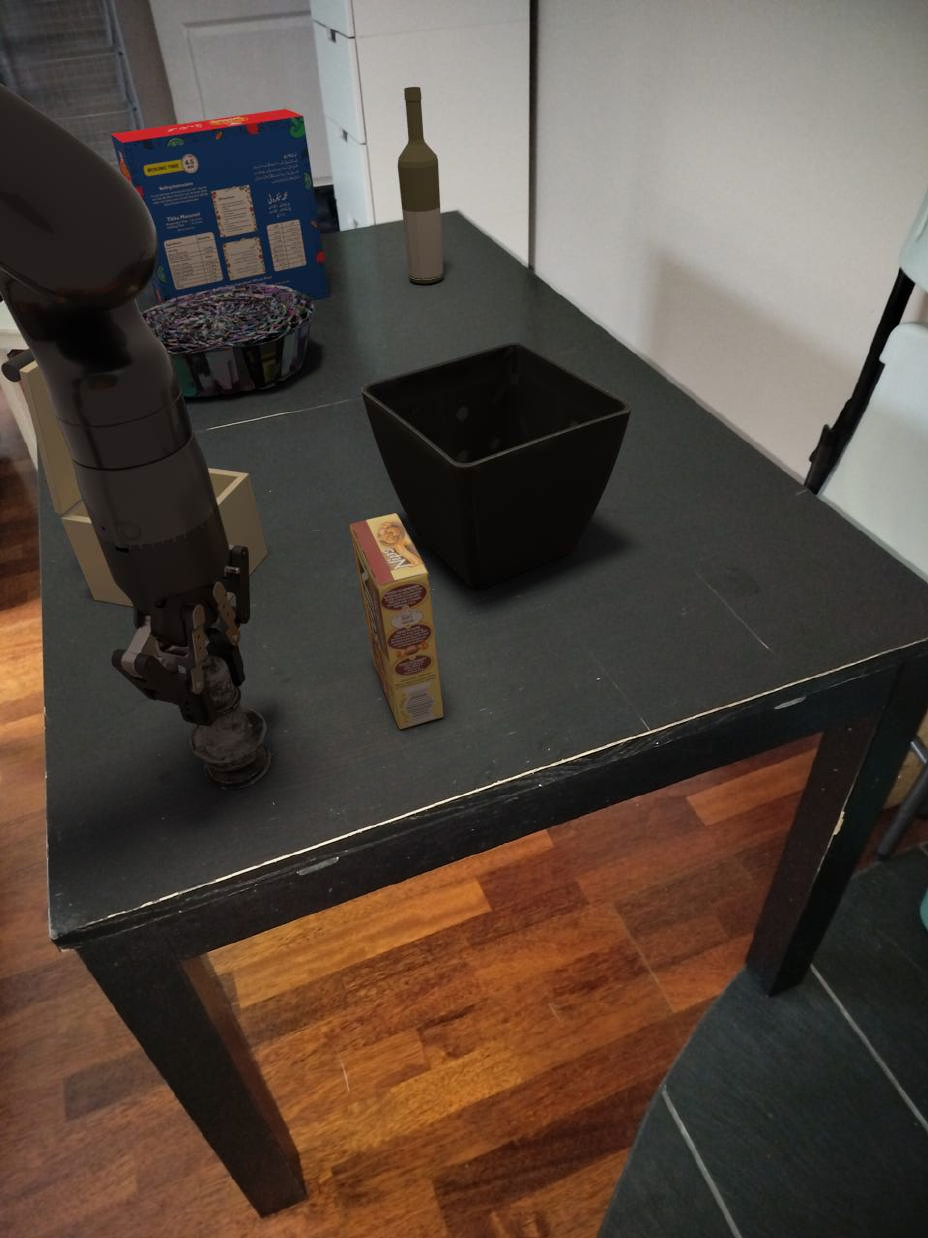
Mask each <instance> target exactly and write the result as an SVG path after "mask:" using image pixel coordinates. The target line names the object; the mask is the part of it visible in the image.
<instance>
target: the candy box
mask: <svg viewBox="0 0 928 1238" xmlns="http://www.w3.org/2000/svg"><path fill="white" fill-rule="evenodd" d="M349 529H350V534H351V535H350V536H351V541H352V542H351V543H352V547H353V553H354V559H355V563H356V565H355V566H356V569H357V574H358V582H359V586H360V592H361V598H362V604H363V609H364V616H365V621H366V626H367V631H368V636H369V642H370V647H371V654H372V659H373V665H374V667H375V670H376V673H377V675H378V678H379V681H380V684H381V686H382V689H383V693H384V694H385V697H386V699H387V702H388V705H389V707H390V711H391V712H392V715H393V718H394V719H395V722H396V725H397V727H398V729H399V730H404V729H407V728H411V727H414V726H417V725H421V724H424V723H427V722H431V721H434V720H438V719H441V718H444V707H443V706H444V705H443V698H442V697H443V696H442V689H441V679H440V670H439V669H440V668H439V660H438V651H437V650H438V649H437V641H436V631H435V630H436V629H435V622H434V613H433V604H432V595H431V594H432V593H431V585H430V584H431V583H430V574H429V571H428V569H427V566H426V565H425V562H424V561H423V559H422V557H421V555H420V553H419V551H418V550H417V548H416V546H415V544H414V541H413V540H412V538H411V537H410V535H409V533H408V532H407V529H406V527H405V525H404V524H403V523H402V520H401V518H400V517H399V515H398V513H395V512H394V513H391V514H387V515H382V516H378V517H373V518H368V519H365V520H360V521H356V522H353V523H350V524H349Z"/></svg>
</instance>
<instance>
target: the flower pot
mask: <svg viewBox="0 0 928 1238" xmlns="http://www.w3.org/2000/svg"><path fill="white" fill-rule="evenodd" d="M360 391H361V395H362V399H363V400H362V401H363V402H364V403H363V404H364V408H365V411H366V414H367V418H368V421H369V424H370V428H371V431H372V434H373V437H374V440H375V442H376V445H377V449H378V452H379V454H380V457H381V460H382V462H383V465H384V468H385V470H386V472H387V475H388V477H389V480H390V483H391V485H392V487H393V489H394V491H395V494H396V495H397V498H398V500H399V502H400V504H401V506H402V509H403V511H404V513H405V514H406V517H407V519H408V521H409V523H410V525H411V526H412V528H413V530H414V532H415V534H416V535H417V536H418V538H419V539H421V540H422V541H423V542H424V543H425V544H426V546H428V547H429V548H430V549H431V550H432V551H433V552H434V553H435V554H436V555H437V556H438V557H439V558H441V560H443V561H444V562H445V564H447V565H448V566H449V568H451V569H452V570H453V571H454V572H455V573H456V575H458V576H459V577H460V578H461V579H462V580H463V581H464V582H465V583H466V584H468V585H469V587H471V588H473V589H485V588H487V587H489V586H492V585H494V584H497V583H499V582H501V581H504V580H506V579H509V578H511V577H514V576H516V575H519V574H521V573H524V572H526V571H529V570H531V569H534V568H535V567H537V566H540V565H543V564H545V563H548V562H550V561H552V560H555V559H558V558H559V557H561V556H564V555H567V554H569V553H571V552H573V551H574V550H575V549H576V547H577V545H578V544H579V542H580V540H581V538H582V537H583V535H584V534H585V532H586V530H587V528H588V526H589V524H590V522H591V520H592V518H593V516H594V514H595V512H596V510H597V508H598V506H599V504H600V502H601V499H602V497H603V495H604V493H605V490H606V489H607V486H608V483H609V482H610V478H611V475H612V473H613V471H614V468H615V465H616V462H617V460H618V457H619V454H620V451H621V447H622V444H623V441H624V438H625V434H626V431H627V428H628V424H629V421H630V417H631V414H632V409H633V407H632V404H630V403H629V402H628V401H626V400H624V399H622V398H620V397H619V396H617V395H616V394H614V393H612V392H610V391H608V390H606V389H604V388H603V387H601V386H599V385H598V384H596V383H594V382H593V381H590V380H589V379H587V378H585V377H584V376H581V375H580V374H578V373H576V372H575V371H573V370H571V369H569V368H567V367H566V366H564V365H562V364H560V363H559V362H557V361H555V360H553V359H552V358H550V357H548V356H547V355H545V354H544V353H541V352H539V351H538V350H536V349H534V348H532V347H530V346H529V345H527V344H525V343H523V342H520V341H519V342H518V341H512V342H507V343H504V344H499V345H497V346H496V345H495V346H493V347H489V348H486V349H483V350H479V351H475V352H472V353H469V354H465V355H462V356H459V357H456V358H455V357H454V358H452V359H449V360H445V361H442V362H439V363H435V364H431V365H428V366H424V367H421V368H417V369H414V370H410V371H407V372H403V373H400V374H397V375H394V376H390V377H387V378H383V379H380V380H377V381H373V382H369V383H366V384H364V385H363V386H362V387H361V388H360Z"/></svg>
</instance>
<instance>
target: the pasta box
mask: <svg viewBox="0 0 928 1238" xmlns="http://www.w3.org/2000/svg"><path fill="white" fill-rule="evenodd" d="M306 132H307V131H306V125H305V120H304V115H303V114H301V113H297V112H295V111H292V110H289V109H287V108H282V109H275V110H268V111H262V112H261V111H260V112H255V113H248V114H247V113H246V114H241V115H233V116H226V117H219V118H213V119H212V118H211V119H205V120H198V121H192V122H184V123H178V124H171V125H164V126H158V127H150V128H143V129H137V130H130V131H123V132H116V133H110V137H111V140H112V144H113V147H114V152H115V155H116V159H117V162H118V167H119V169H120V172H121V173H122V174H123V175H124V176H125V177H126V178H127V179H128V180H129V181H130V183H131V184H132V185H133V186H134V187H135V189H136V190H137V191H138V193H139V194H140V195H141V197H142V199H143V200H144V202H145V204H146V206H147V208H148V210H149V212H150V214H151V217H152V219H153V222H154V225H155V229H156V233H157V239H158V258H157V264H156V268H155V271H154V274H153V276H152V278H151V280H150V283H151V286H152V290H153V294H154V298H155V301H156V305H158V304H161V303H164V302H167V301H169V300H171V299H174V298H177V297H181V296H185V295H189V294H193V293H198V292H204V291H209V290H212V289H217V288H226V287H235V286H240V285H247V284H264V285H276V286H284V287H289V288H291V289H293V290H295V291H299V292H301V293H302V294H304V295H306V296H308V297H310V298H313V299H314V300H317V299H318V300H319V299H323V298H326V297H330V291H329V290H330V289H329V283H328V276H327V270H326V262H325V255H324V249H323V241H322V235H321V228H320V221H319V215H318V208H317V201H316V194H315V187H314V179H313V172H312V167H311V159H310V153H309V146H308V145H309V144H308V140H307V133H306ZM326 290H328V291H326ZM323 291H324V292H323ZM314 293H315V294H314Z"/></svg>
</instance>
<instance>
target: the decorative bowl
mask: <svg viewBox="0 0 928 1238" xmlns="http://www.w3.org/2000/svg"><path fill="white" fill-rule="evenodd" d="M140 312H141V314H142V316H143V318H144V320H145V321H146V323H147V325H148V326H149V327H150V329H151V330H152V331H153V332H154V333H155V335H156V336H157V337H158V338H159V339H160V341H161V342H162V343H163V344H164V346H165V347H166V349H167V351H168V352H169V354H170V356H171V358H172V360H173V363H174V365H175V368H176V371H177V374H178V377H179V380H180V384H181V388H182V392H183V396H184V398H191V399H198V398H200V397H206V398H209V397H214V396H218V395H222V396H227V395H236V394H239V393H241V392H247V391H248V392H249V391H253V390H259V391H260V390H261V391H263V390H266V389H269V388H272V387H275V386H276V385H277V384H278V382H282V381H285V380H286V379H287V378H288V377H290V376H294V375H296V374H298V372H299V371H300V370H301V368H302V364H303V363H304V362H305V358H306V353H307V347H308V342H309V338H310V337H309V336H310V331H311V325H312V321H313V316H314V313H315V312H316V308H315V299H313V298H310V297H308V296H306V295H304V294H302V293H301V292H299V291H295V290H293V289H291V288H289V287H284V286H276V285H264V284H247V285H240V286H235V287H226V288H217V289H212V290H209V291H204V292H198V293H193V294H189V295H185V296H181V297H177V298H174V299H171V300H169V301H167V302H164V303H161V304H158V305H157V304H156V305H154V306H152V307H150V308H148V309H146V310H144V311H140Z"/></svg>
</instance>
